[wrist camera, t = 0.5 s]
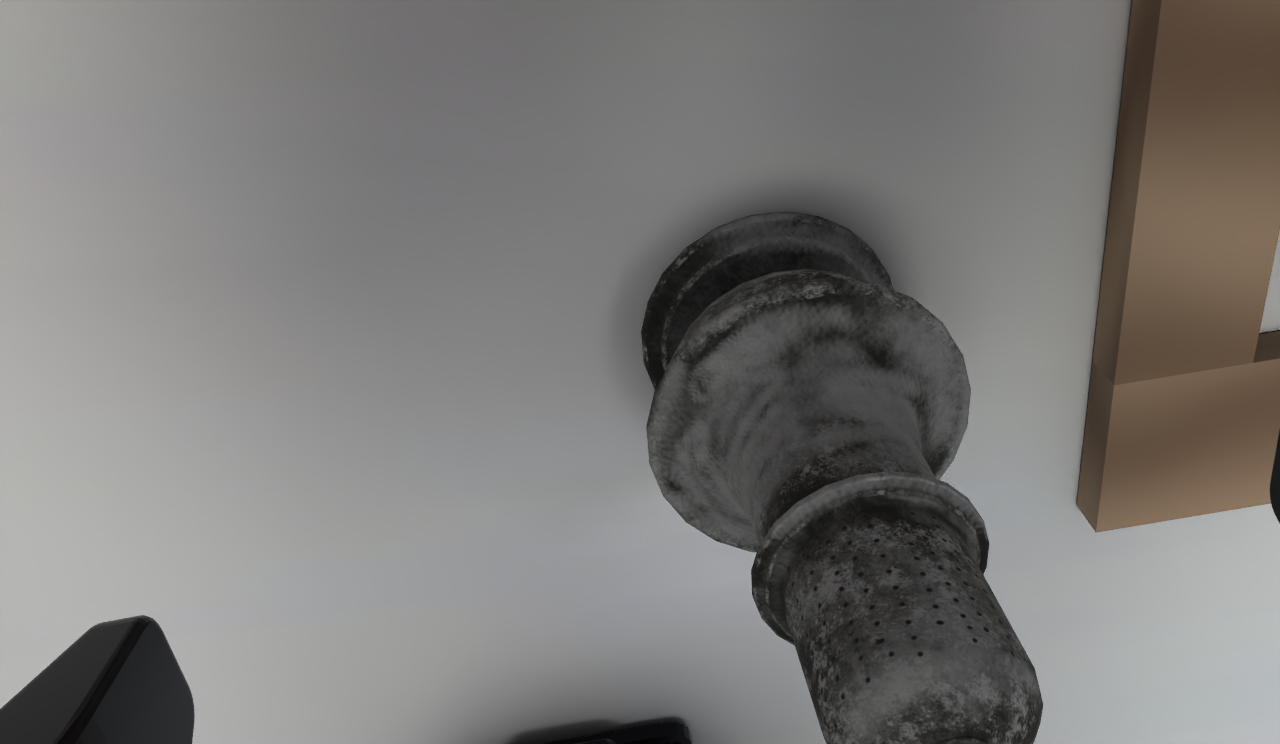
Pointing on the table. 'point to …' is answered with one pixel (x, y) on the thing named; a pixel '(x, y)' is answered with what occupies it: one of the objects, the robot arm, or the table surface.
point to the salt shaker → (835, 477)
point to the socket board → (1188, 271)
